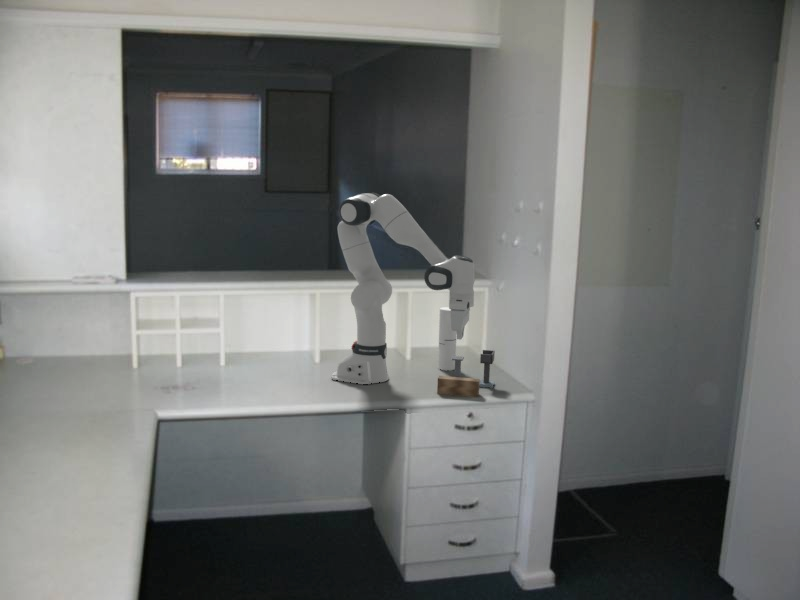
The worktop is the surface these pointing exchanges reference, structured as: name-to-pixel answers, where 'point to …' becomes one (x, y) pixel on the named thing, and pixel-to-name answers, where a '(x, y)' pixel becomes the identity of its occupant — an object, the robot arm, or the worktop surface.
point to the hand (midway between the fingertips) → (460, 338)
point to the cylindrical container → (446, 341)
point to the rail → (458, 386)
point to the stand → (485, 358)
